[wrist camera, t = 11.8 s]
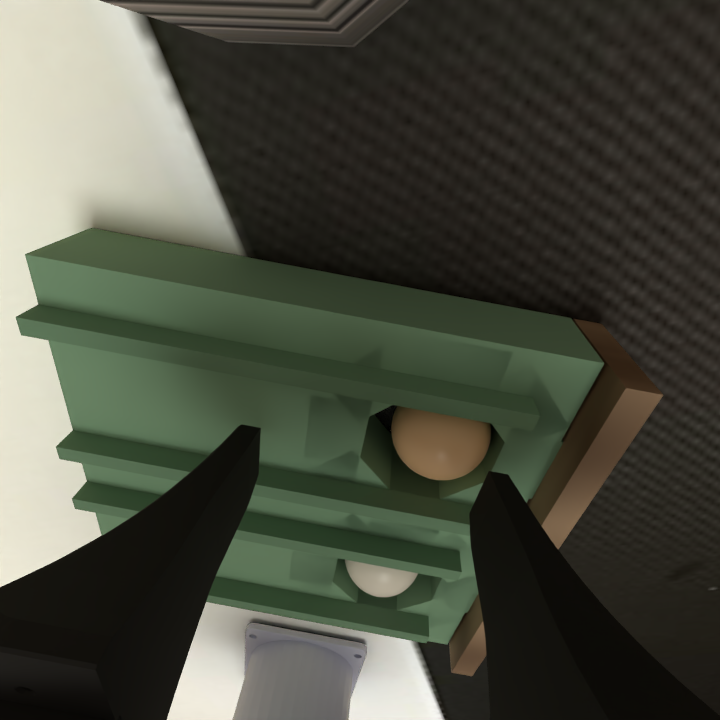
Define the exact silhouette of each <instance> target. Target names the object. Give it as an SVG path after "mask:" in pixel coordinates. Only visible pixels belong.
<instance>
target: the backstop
mask: <svg viewBox="0 0 720 720" xmlns="http://www.w3.org/2000/svg"><path fill="white" fill-rule="evenodd" d="M572 321H573V322H574V323H575V325H576V326H577V327H578V329H579V330H580V331H581V333H582V334H583V335H584V337H585V338H586V339H587V341H588V342H589V343H590V345H591V346H592V347H593V349H594V350H595V351H596V353H597V354H598V355H599V357H600V358H601V359H602V361H603V362H604V365H603V367H602V369H601V371H600V372H599V374H598V376H597V378H596V379H595V381H594V383H593V385H592V387H591V388H590V390H589V392H588V394H587V396H586V397H585V399H584V401H583V403H582V405H581V406H580V408H579V410H578V412H577V413H576V415H575V417H574V419H573V421H572V422H571V424H570V426H569V428H568V430H567V431H566V433H565V435H564V437H563V438H562V440H563V442H564V443H563V444H562V446H561V448H560V450H559V452H558V453H557V455H556V457H555V459H554V460H553V462H552V464H551V466H550V467H549V469H548V471H547V473H546V475H545V476H544V478H543V480H542V482H541V483H540V485H539V487H538V489H537V490H536V492H535V494H534V496H533V498H532V499H528V501H527V505H528V506H529V508H530V509H531V511H532V512H533V514H534V515H535V517H536V519H537V520H538V522H539V523H540V525H541V526H542V527H543V529H544V530H545V532H546V533H547V535H548V536H549V538H550V539H551V541H552V542H553V543H554V545H555V546H556V548H557V549H559V548H560V546H561V545H562V543H563V542H564V540H565V539H566V537H567V536H568V534H569V533H570V531H571V530H572V528H573V527H574V526H575V524H576V523H577V521H578V520H579V518H580V517H581V515H582V514H583V512H584V511H585V509H586V508H587V506H588V505H589V504H590V502H591V501H592V499H593V498H594V496H595V495H596V493H597V492H598V490H599V489H600V487H601V486H602V484H603V483H604V481H605V480H606V479H607V477H608V476H609V474H610V473H611V471H612V470H613V468H614V467H615V465H616V464H617V462H618V461H619V459H620V458H621V456H622V455H623V454H624V452H625V451H626V449H627V448H628V446H629V445H630V443H631V442H632V440H633V439H634V437H635V436H636V434H637V433H638V432H639V430H640V429H641V427H642V426H643V424H644V423H645V421H646V420H647V418H648V417H649V415H650V414H651V412H652V411H653V409H654V408H655V407H656V405H657V404H658V402H659V401H660V399H661V398H662V396H663V394H662V393H661V392H660V391H659V389H658V388H657V387H656V386H655V385H654V384H653V383H652V381H651V380H650V379H649V378H648V377H647V376H646V374H645V373H644V372H643V371H642V370H641V369H640V368H639V366H638V365H637V364H636V363H635V362H634V361H633V359H632V358H631V357H630V356H629V355H628V354H627V353H626V351H625V350H624V349H623V348H622V347H621V346H620V344H619V343H618V342H617V341H616V340H615V339H614V338H613V336H612V335H611V334H610V333H609V332H608V331H607V329H606V328H605V327H604V326H603V325H602V324H600V323H594V322H589V321H584V320H578V319H573V320H572ZM449 647H450V661H451V672H452V673H458V674H463V675H468V676H472V675H473V674H474V672H475V671H476V670H477V668H478V667H479V665H480V664H481V662H482V661H483V659H484V658H485V656H486V655H487V654H486V640H485V631H484V624H483V617H482V611H481V605H480V599H479V593H478V595H477V597H476V598H475V600H474V602H473V604H472V606H471V607H470V609H469V611H468V613H465V614H464V616H463V617H462V620H461V621H460V623H459V625H458V626H457V628H456V630H455V632H454V634H453V635H452V637H451V639H450V641H449Z"/></svg>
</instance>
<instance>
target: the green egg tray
mask: <svg viewBox="0 0 720 720" xmlns="http://www.w3.org/2000/svg"><path fill="white" fill-rule="evenodd" d="M25 256H26V260H27V263H28V267H29V271H30V274H31V278H32V282H33V285H34V289H35V293H36V296H37V300H38V304H39V305H37V306H35V307H33V308H31V309H30V310H28V311H26V312H24V313H22V314H20V315H19V316H17V317H16V320H17V323H18V326H19V330H20V333H21V335H24V336H29V337H34V338H40V339H45V340H49V344H50V348H51V351H52V355H53V359H54V362H55V366H56V370H57V373H58V377H59V380H60V384H61V388H62V391H63V395H64V399H65V402H66V406H67V410H68V413H69V417H70V421H71V424H72V428H73V431H72V432H71V433H70V434H69V435H68V436H67V437H66V438H65V439H64V440H63V441H61V442H60V443H59V444H58V445H57V446H56V449H57V452H58V455H59V458H60V459H63V460H68V461H74V462H79V463H82V465H83V468H84V472H85V476H86V479H87V482H86V483H85V484H84V485H83V487H82V488H81V489H80V490H79V491H78V492H77V494H76V495H75V496H74V497H73V498H72V500H73V503H74V507H75V509H79V510H85V511H90V512H95V513H96V516H97V520H98V523H99V527H100V531H101V534H102V535H104V534H105V533H107V532H109V531H110V530H112V529H114V528H115V527H117V526H118V525H120V524H121V523H123V522H124V521H126V520H127V519H129V518H131V517H132V516H134V515H135V514H137V513H138V512H140V511H141V510H142V509H144V508H145V507H147V506H148V505H149V504H151V503H152V502H154V501H155V500H156V499H158V498H159V497H160V496H162V495H163V494H164V493H166V492H167V491H168V490H169V489H171V488H172V487H173V486H174V485H176V484H177V483H178V482H179V481H180V480H182V479H183V478H184V477H185V476H186V475H188V474H189V473H190V472H191V471H192V470H194V469H195V468H196V467H197V466H198V465H199V464H200V463H201V462H202V461H203V460H205V459H206V458H207V457H208V456H209V455H210V454H211V453H212V452H213V451H214V450H215V449H216V448H217V447H218V446H219V445H220V444H221V443H222V442H223V441H224V440H225V439H226V438H227V437H228V436H229V435H230V434H231V433H232V432H233V431H234V430H235V429H236V428H237V427H238V426H240V425H241V424H243V425H248V426H253V427H259V428H261V434H260V458H259V475H258V478H257V481H256V484H255V487H254V490H253V493H252V496H251V499H250V502H249V505H248V507H247V509H246V511H245V513H244V516H243V518H242V520H241V522H240V524H239V527H238V529H237V531H236V533H235V535H234V537H233V539H232V542H231V544H230V546H229V548H228V550H227V552H226V555H225V557H224V559H223V561H222V563H221V565H220V567H219V570H218V572H217V574H216V577H215V579H214V582H213V584H212V586H211V589H210V592H209V595H208V598H207V600H206V602H210V603H215V604H221V605H226V606H231V607H237V608H242V609H247V610H253V611H258V612H263V613H269V614H274V615H279V616H284V617H290V618H295V619H300V620H306V621H311V622H316V623H322V624H327V625H332V626H337V627H343V628H348V629H353V630H359V631H364V632H369V633H375V634H380V635H385V636H391V637H396V638H401V639H406V640H412V641H417V642H422V643H427V641H432V642H437V643H442V644H448V642H449V641H450V639H451V637H452V635H453V634H454V632H455V630H456V628H457V626H458V625H459V623H460V621H461V620H462V617H463V616H464V614H465V613H468V611H469V609H470V607H471V606H472V604H473V602H474V600H475V598H476V597H477V595H478V587H477V582H476V576H475V570H474V564H473V557H472V551H471V542H470V519H469V513H470V511H471V509H472V506H473V504H474V502H475V500H476V498H477V496H478V493H479V491H480V489H481V487H482V485H483V482H484V480H485V478H486V476H487V474H488V472H489V471H492V472H498V473H503V474H508V475H509V476H510V478H511V480H512V481H513V483H514V484H515V486H516V487H517V489H518V491H519V492H520V494H521V495H522V497H523V498H524V500H525V502H526V503H527V501H528V499H532V498H533V496H534V494H535V492H536V490H537V489H538V487H539V485H540V483H541V482H542V480H543V478H544V476H545V475H546V473H547V471H548V469H549V467H550V466H551V464H552V462H553V460H554V459H555V457H556V455H557V453H558V452H559V450H560V448H561V446H562V444H563V443H564V442H563V440H562V438H563V437H564V435H565V433H566V431H567V430H568V428H569V426H570V424H571V422H572V421H573V419H574V417H575V415H576V413H577V412H578V410H579V408H580V406H581V405H582V403H583V401H584V399H585V397H586V396H587V394H588V392H589V390H590V388H591V387H592V385H593V383H594V381H595V379H596V378H597V376H598V374H599V372H600V371H601V369H602V367H603V365H604V362H603V361H602V359H601V358H600V357H599V355H598V354H597V353H596V351H595V350H594V349H593V347H592V346H591V345H590V343H589V342H588V341H587V339H586V338H585V337H584V335H583V334H582V333H581V331H580V330H579V329H578V327H577V326H576V325H575V323H574V322H573V321H572V319H571V318H568V317H563V316H557V315H552V314H547V313H541V312H536V311H531V310H525V309H520V308H515V307H509V306H504V305H499V304H493V303H488V302H483V301H477V300H472V299H467V298H462V297H456V296H451V295H446V294H440V293H435V292H430V291H424V290H419V289H414V288H408V287H403V286H398V285H392V284H387V283H382V282H376V281H371V280H366V279H360V278H355V277H350V276H345V275H339V274H334V273H329V272H323V271H318V270H313V269H307V268H302V267H297V266H291V265H286V264H281V263H275V262H270V261H265V260H259V259H254V258H249V257H244V256H238V255H233V254H228V253H222V252H217V251H212V250H206V249H201V248H196V247H190V246H185V245H180V244H174V243H169V242H164V241H158V240H153V239H148V238H143V237H137V236H132V235H127V234H121V233H116V232H111V231H105V230H100V229H95V228H90V229H87V230H85V231H82V232H80V233H77V234H75V235H72V236H70V237H67V238H65V239H62V240H60V241H57V242H55V243H52V244H50V245H47V246H45V247H42V248H40V249H37V250H35V251H32V252H30V253H27V254H25ZM392 405H396V406H401V407H406V408H412V409H417V410H422V411H427V412H433V413H438V414H443V415H449V416H454V417H459V418H465V419H470V420H475V421H481V422H486V423H490V426H491V440H490V444H489V448H488V451H487V453H486V455H485V457H484V458H483V460H482V461H481V463H480V464H479V465H478V466H477V467H476V468H475V469H474V470H472V471H471V472H469V473H468V474H466V475H464V476H462V477H459V478H456V479H452V480H434V479H429V478H426V477H423V476H421V475H419V474H417V473H415V472H414V471H413V470H411V469H410V468H409V467H408V466H407V465H406V464H405V463H404V462H403V461H402V460H401V458H400V457H399V455H398V453H397V451H396V449H395V447H394V444H393V440H392V435H391V433H390V432H389V431H388V430H387V429H386V428H385V426H384V425H383V424H382V423H381V422H380V421H379V419H378V418H377V417H376V416H375V415H374V414H376V413H378V412H380V411H382V410H384V409H386V408H388V407H390V406H392ZM345 560H350V561H355V562H360V563H366V564H371V565H376V566H382V567H387V568H392V569H398V570H403V571H408V572H414V573H418V575H417V577H416V578H415V580H414V582H413V583H412V584H411V585H410V586H409V587H408V588H407V589H406V590H405V591H403V592H402V593H400V594H398V595H395V596H391V597H376V596H372V595H370V594H368V593H366V592H364V591H363V590H361V589H360V588H359V587H358V586H357V585H356V584H355V583H354V582H353V580H352V579H351V577H350V575H349V573H348V571H347V568H346V564H345Z"/></svg>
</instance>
